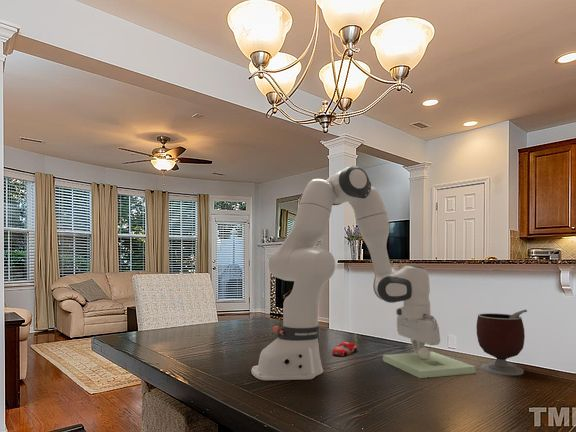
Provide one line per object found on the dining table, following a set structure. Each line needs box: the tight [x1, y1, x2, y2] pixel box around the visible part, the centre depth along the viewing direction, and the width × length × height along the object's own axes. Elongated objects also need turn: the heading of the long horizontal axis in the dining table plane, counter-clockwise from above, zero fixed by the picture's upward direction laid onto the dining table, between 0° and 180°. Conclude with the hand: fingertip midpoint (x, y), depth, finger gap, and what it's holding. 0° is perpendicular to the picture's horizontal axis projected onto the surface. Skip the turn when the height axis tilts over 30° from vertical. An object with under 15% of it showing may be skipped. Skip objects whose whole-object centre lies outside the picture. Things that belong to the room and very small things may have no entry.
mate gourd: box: [476, 309, 528, 376], centre depth 136 cm, size 16×14×20 cm
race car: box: [331, 341, 358, 357], centre depth 159 cm, size 13×5×4 cm, turn 142°
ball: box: [418, 346, 431, 360], centre depth 141 cm, size 4×4×4 cm
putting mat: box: [382, 351, 477, 379], centre depth 139 cm, size 20×22×2 cm
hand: (418, 353), depth 144 cm, fingers closed
